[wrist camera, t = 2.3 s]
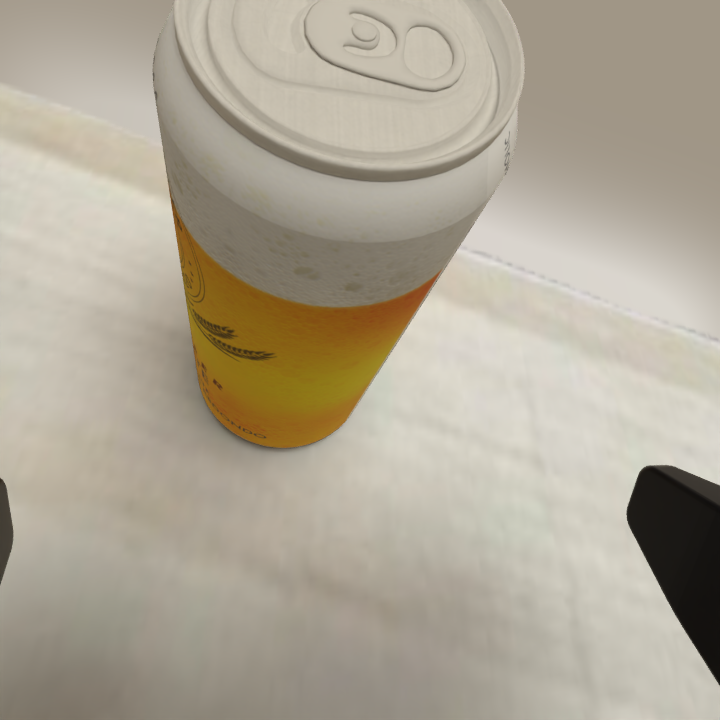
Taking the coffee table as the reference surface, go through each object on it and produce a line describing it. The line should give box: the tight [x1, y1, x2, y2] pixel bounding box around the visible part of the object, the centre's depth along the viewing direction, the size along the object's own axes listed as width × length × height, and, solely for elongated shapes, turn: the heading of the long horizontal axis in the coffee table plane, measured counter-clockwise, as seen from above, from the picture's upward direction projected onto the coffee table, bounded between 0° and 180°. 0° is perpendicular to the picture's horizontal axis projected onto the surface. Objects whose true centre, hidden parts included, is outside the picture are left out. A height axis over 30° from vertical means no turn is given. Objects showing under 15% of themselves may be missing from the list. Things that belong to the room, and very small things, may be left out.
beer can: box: [153, 0, 525, 448], centre depth 16 cm, size 6×6×15 cm
